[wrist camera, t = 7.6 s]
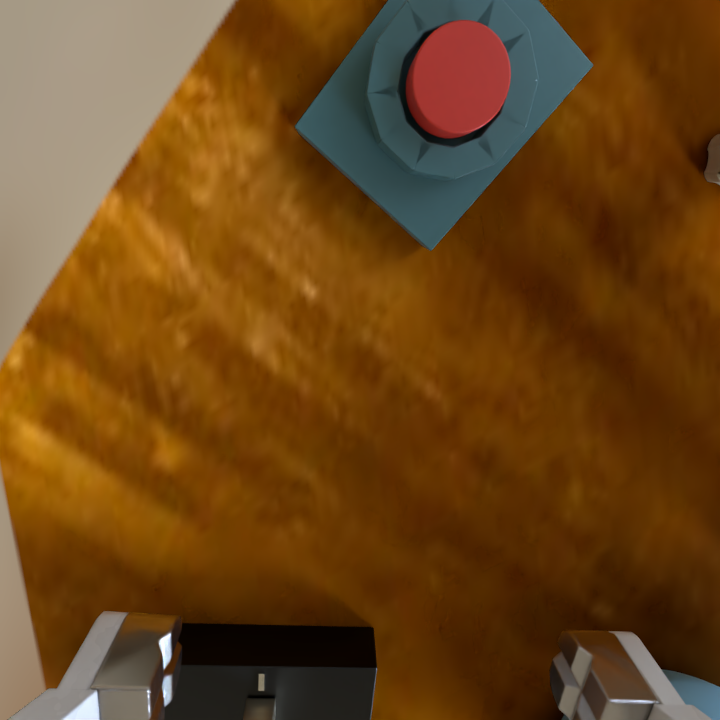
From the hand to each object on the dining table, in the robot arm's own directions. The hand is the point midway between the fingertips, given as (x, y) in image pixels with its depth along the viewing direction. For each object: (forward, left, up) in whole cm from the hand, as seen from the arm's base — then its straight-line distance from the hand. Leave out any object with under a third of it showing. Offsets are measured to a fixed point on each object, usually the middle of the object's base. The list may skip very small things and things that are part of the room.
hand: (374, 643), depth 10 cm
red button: (+3, +13, -13) cm, 19 cm away
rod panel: (-4, -24, -17) cm, 29 cm away
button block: (+3, +13, -17) cm, 22 cm away
